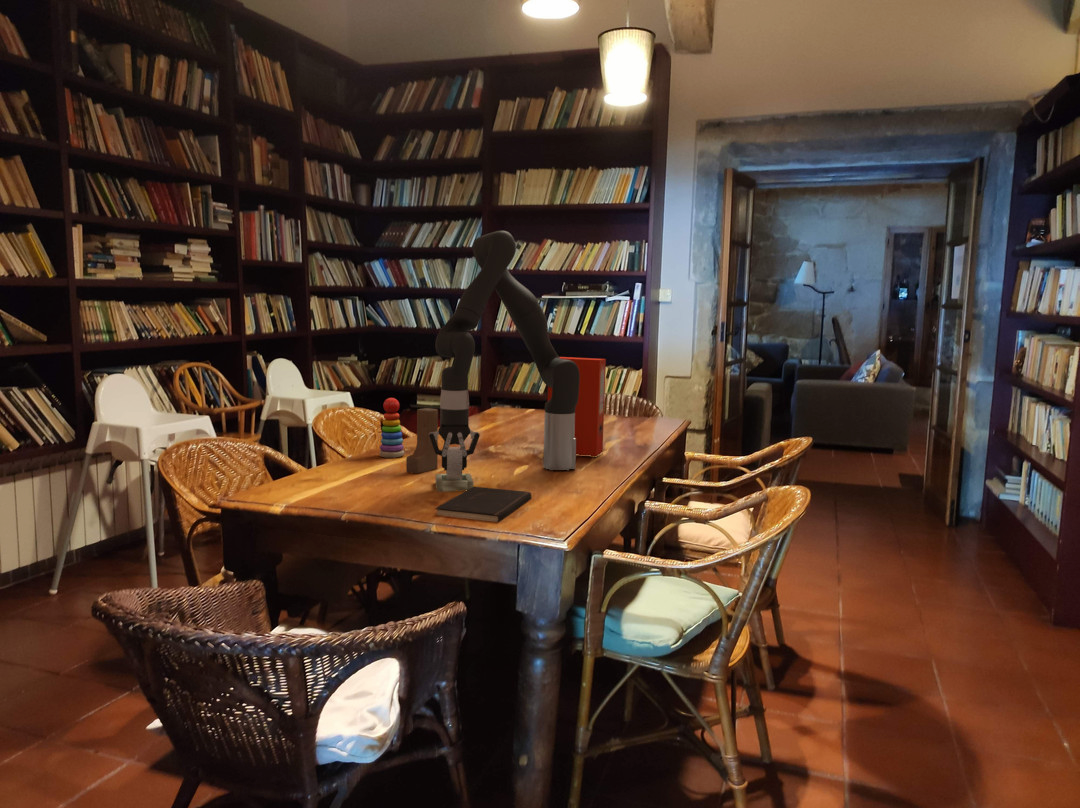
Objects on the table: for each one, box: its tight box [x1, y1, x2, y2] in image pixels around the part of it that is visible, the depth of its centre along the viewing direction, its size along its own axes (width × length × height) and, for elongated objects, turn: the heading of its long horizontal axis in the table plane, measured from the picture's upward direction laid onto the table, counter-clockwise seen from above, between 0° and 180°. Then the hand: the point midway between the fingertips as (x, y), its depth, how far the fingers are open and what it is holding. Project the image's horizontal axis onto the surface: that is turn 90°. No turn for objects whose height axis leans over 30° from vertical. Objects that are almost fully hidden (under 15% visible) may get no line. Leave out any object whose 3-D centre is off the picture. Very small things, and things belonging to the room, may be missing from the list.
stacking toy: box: [378, 397, 405, 459], centre depth 243 cm, size 8×8×19 cm
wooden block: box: [405, 407, 439, 474], centre depth 223 cm, size 9×4×18 cm, turn 146°
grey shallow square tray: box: [435, 473, 474, 492], centre depth 205 cm, size 10×10×2 cm
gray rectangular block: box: [445, 446, 463, 481], centre depth 205 cm, size 4×4×8 cm
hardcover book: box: [434, 485, 533, 523], centre depth 186 cm, size 16×23×2 cm
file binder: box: [547, 356, 607, 456], centre depth 253 cm, size 8×17×32 cm, turn 70°
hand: (454, 469), depth 205 cm, fingers closed on gray rectangular block, 4 cm apart
